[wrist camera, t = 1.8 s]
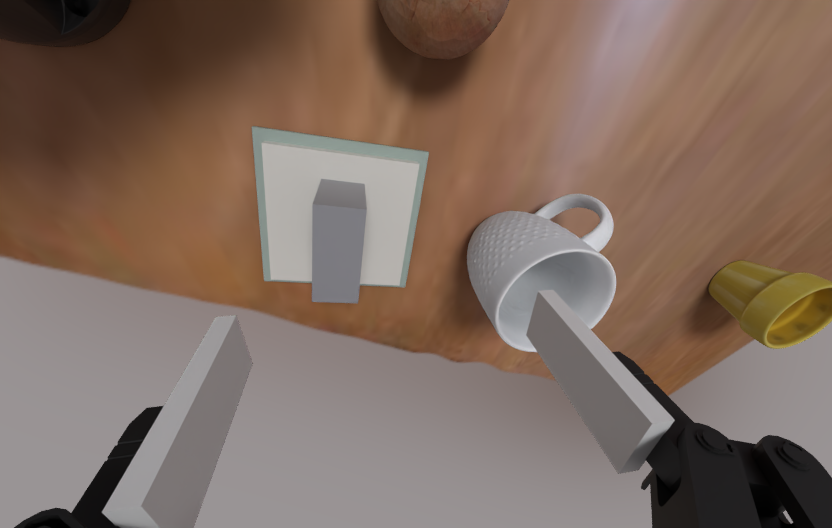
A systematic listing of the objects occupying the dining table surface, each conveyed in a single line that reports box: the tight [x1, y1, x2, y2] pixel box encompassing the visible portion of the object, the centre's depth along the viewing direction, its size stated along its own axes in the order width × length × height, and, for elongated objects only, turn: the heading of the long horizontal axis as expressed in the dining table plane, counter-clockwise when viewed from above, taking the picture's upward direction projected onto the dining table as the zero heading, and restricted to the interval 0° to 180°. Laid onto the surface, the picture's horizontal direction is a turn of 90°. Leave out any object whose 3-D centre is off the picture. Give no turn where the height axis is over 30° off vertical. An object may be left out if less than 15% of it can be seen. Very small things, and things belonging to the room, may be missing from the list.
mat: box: [252, 126, 429, 287], centre depth 33 cm, size 16×16×1 cm
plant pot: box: [709, 260, 832, 349], centre depth 44 cm, size 10×10×10 cm
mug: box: [467, 194, 616, 352], centre depth 32 cm, size 15×11×13 cm
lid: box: [261, 141, 419, 303], centre depth 29 cm, size 14×14×8 cm
